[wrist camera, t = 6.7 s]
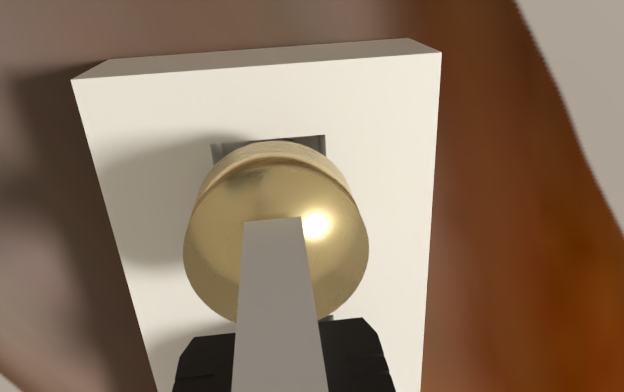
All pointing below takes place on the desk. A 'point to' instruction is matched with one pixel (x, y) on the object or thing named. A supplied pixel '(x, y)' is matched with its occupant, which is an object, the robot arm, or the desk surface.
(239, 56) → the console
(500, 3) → the desk surface
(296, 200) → the knob
